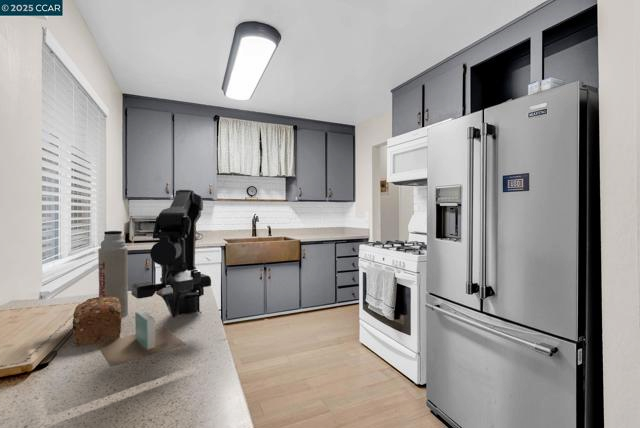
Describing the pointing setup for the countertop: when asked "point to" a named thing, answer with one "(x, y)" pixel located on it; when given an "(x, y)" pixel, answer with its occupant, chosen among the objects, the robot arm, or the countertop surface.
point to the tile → (145, 329)
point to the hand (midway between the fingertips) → (173, 317)
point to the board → (137, 347)
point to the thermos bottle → (114, 269)
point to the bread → (97, 320)
